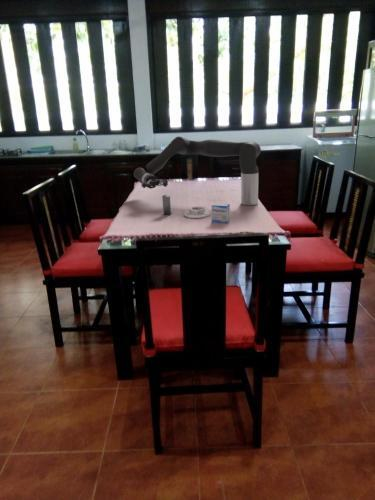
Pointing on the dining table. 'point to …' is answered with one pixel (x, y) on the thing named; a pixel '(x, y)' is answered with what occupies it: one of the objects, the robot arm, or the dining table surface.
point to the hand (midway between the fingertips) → (158, 185)
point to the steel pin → (166, 204)
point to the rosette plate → (197, 212)
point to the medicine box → (220, 213)
